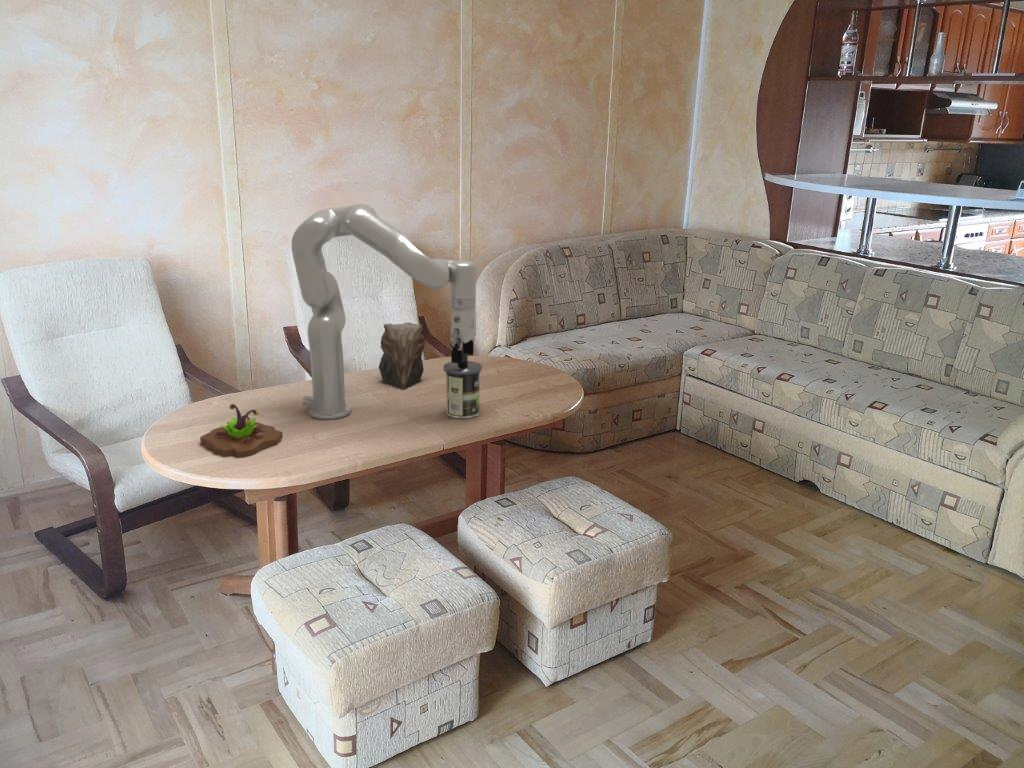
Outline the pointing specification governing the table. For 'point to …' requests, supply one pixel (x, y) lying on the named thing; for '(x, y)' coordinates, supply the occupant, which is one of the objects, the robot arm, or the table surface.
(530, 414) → the table surface
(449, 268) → the robot arm
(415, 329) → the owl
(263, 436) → the plant
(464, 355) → the lid
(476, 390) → the coffee can
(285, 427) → the table surface
